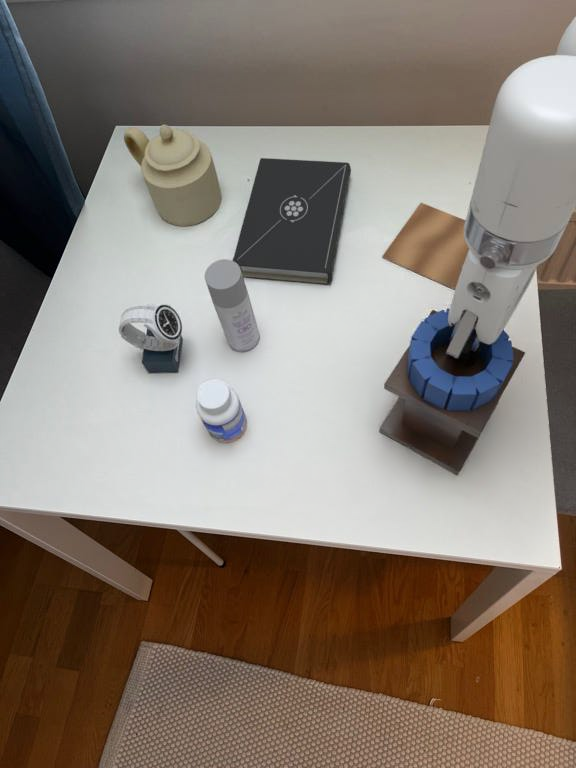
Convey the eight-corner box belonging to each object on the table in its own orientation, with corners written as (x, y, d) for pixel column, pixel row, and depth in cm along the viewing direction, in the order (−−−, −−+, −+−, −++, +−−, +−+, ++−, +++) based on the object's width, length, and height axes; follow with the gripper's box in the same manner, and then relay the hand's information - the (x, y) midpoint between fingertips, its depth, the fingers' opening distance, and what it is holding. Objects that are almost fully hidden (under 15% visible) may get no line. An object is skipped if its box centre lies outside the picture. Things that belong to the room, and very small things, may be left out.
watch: (192, 372, 81) (170, 331, 71) (136, 373, 82) (107, 332, 72) (196, 337, 84) (175, 293, 74) (142, 339, 85) (114, 295, 75)
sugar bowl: (127, 224, 95) (90, 151, 81) (144, 174, 100) (112, 97, 86) (215, 228, 92) (191, 153, 79) (228, 177, 97) (208, 98, 84)
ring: (519, 353, 62) (529, 334, 58) (477, 427, 59) (485, 412, 55) (434, 314, 65) (439, 293, 62) (390, 382, 62) (392, 364, 58)
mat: (492, 233, 87) (493, 231, 86) (455, 290, 83) (456, 288, 82) (420, 204, 90) (420, 202, 90) (382, 257, 87) (382, 256, 86)
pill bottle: (199, 425, 77) (180, 394, 69) (229, 398, 79) (213, 364, 70) (226, 451, 75) (209, 423, 67) (256, 423, 77) (243, 392, 68)
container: (247, 357, 81) (227, 296, 68) (221, 343, 83) (195, 280, 69) (266, 332, 83) (249, 267, 70) (239, 319, 84) (218, 252, 71)
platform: (496, 405, 74) (525, 352, 62) (457, 475, 71) (479, 434, 58) (419, 367, 78) (432, 309, 66) (378, 431, 75) (384, 383, 62)
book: (331, 285, 85) (331, 272, 83) (235, 276, 88) (231, 264, 85) (351, 176, 94) (351, 162, 92) (262, 171, 97) (260, 157, 94)
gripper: (513, 318, 43) (469, 415, 59) (601, 168, 48) (539, 294, 64) (421, 277, 45) (403, 381, 61) (515, 138, 50) (476, 268, 67)
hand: (473, 336), depth 63 cm, fingers open, 5 cm apart
